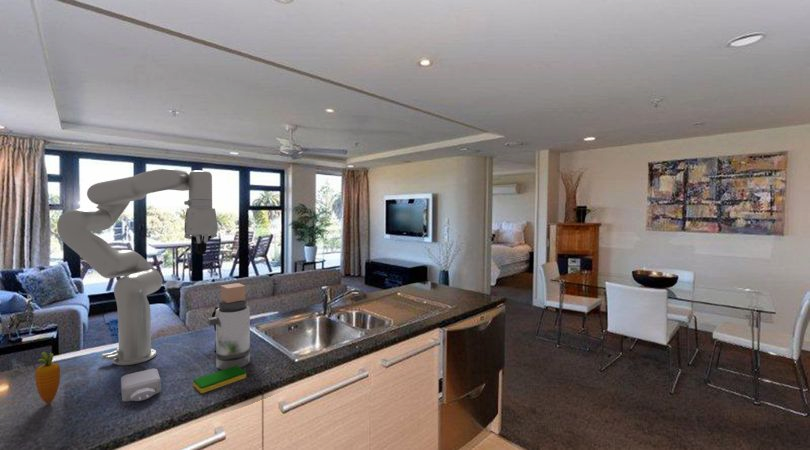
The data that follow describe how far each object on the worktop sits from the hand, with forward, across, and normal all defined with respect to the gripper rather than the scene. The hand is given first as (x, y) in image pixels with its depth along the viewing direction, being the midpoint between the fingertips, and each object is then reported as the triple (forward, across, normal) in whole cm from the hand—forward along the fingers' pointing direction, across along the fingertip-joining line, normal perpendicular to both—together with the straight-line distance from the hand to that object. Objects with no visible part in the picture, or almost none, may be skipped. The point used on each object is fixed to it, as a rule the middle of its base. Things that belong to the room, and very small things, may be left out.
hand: (201, 253), depth 131 cm
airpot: (+39, +5, -14) cm, 42 cm away
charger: (+40, -22, -18) cm, 48 cm away
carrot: (+39, -41, -5) cm, 57 cm away
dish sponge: (+40, -2, -25) cm, 47 cm away
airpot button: (+16, +6, -14) cm, 22 cm away
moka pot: (+39, +9, +1) cm, 40 cm away
